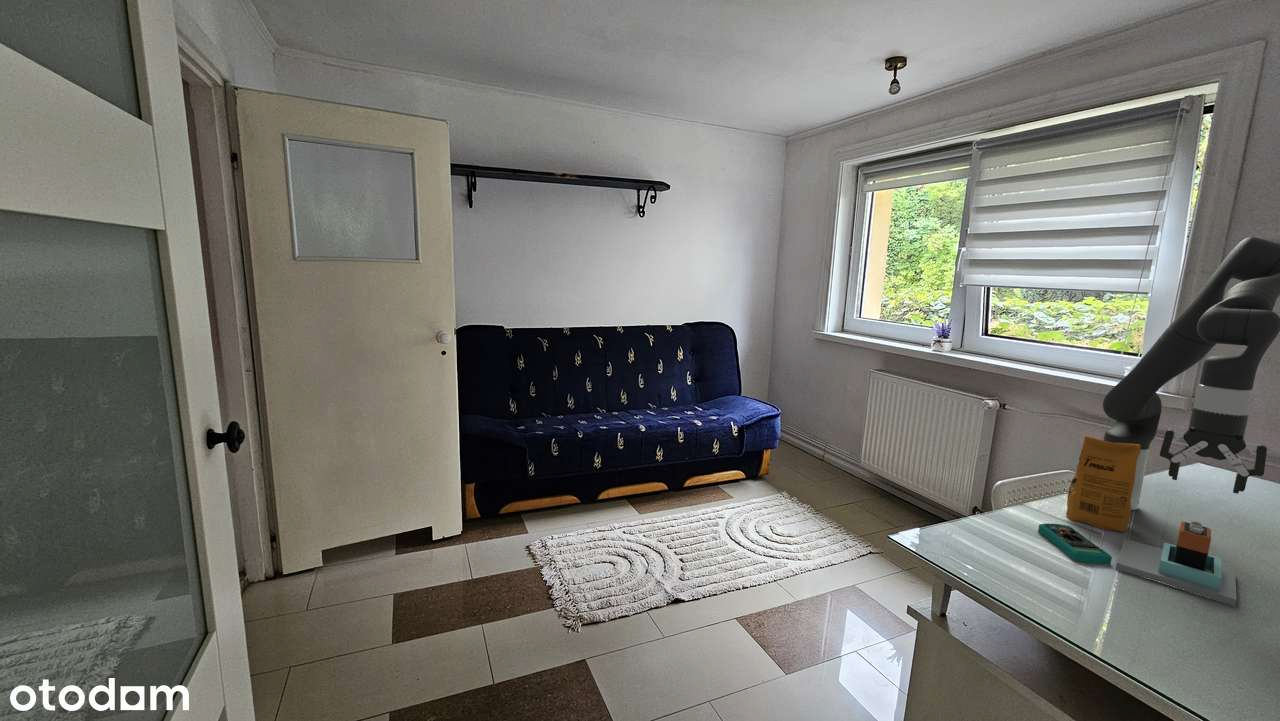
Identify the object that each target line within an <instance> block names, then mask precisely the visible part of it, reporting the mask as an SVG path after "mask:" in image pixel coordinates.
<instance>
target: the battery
mask: <svg viewBox="0 0 1280 721" xmlns="http://www.w3.org/2000/svg"><path fill="white" fill-rule="evenodd" d="M1211 540H1212V529H1211V528H1210V527H1206V526H1203V524H1202V523H1201V522H1197V521H1191V522H1188V521H1181V523H1180V527H1179V531H1178V538H1177V541H1176V551H1175V556H1174V563H1178V564H1181V565H1184V566H1188V567H1191V568H1195V569H1198V570H1202V571H1205V566H1206V561H1207V556H1208V555H1209V550H1210V546H1211V542H1212V541H1211Z"/></svg>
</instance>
